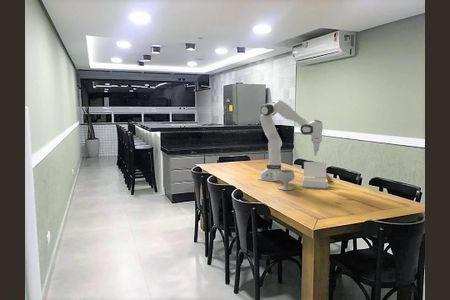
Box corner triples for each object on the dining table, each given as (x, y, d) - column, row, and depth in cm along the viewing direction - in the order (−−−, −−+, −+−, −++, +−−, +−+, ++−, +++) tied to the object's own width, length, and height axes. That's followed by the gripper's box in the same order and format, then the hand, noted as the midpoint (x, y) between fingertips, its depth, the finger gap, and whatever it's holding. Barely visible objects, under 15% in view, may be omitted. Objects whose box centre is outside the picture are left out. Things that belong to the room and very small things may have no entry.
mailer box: (302, 187, 276) (302, 180, 275) (302, 183, 289) (302, 177, 289) (327, 188, 271) (327, 181, 271) (326, 185, 285) (326, 178, 284)
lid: (304, 161, 292) (304, 162, 293) (303, 176, 288) (303, 176, 289) (326, 162, 288) (326, 162, 289) (326, 177, 284) (326, 177, 284)
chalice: (297, 189, 267) (298, 171, 265) (284, 191, 260) (284, 173, 258) (286, 186, 279) (287, 169, 277) (273, 188, 272) (273, 170, 271)
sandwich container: (333, 181, 302) (334, 165, 300) (320, 182, 297) (320, 166, 295) (327, 179, 310) (328, 163, 308) (314, 180, 305) (314, 164, 303)
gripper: (312, 138, 289) (311, 153, 291) (312, 140, 270) (311, 156, 271) (319, 138, 288) (318, 154, 290) (320, 140, 268) (319, 157, 270)
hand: (315, 155), depth 280 cm, fingers closed
